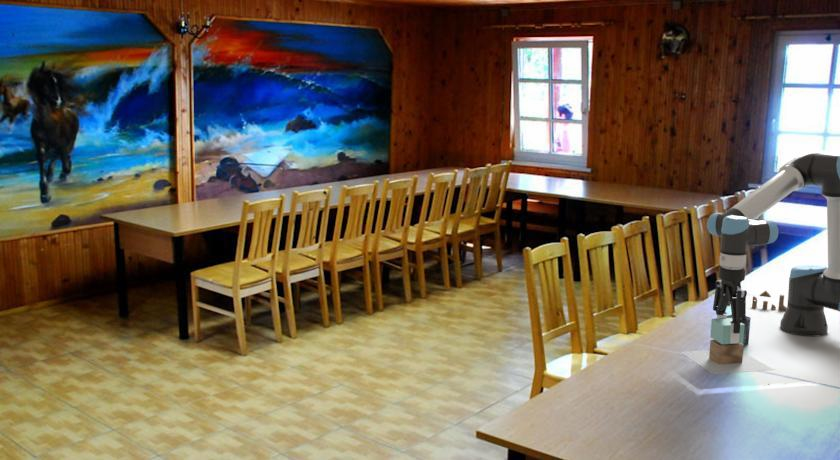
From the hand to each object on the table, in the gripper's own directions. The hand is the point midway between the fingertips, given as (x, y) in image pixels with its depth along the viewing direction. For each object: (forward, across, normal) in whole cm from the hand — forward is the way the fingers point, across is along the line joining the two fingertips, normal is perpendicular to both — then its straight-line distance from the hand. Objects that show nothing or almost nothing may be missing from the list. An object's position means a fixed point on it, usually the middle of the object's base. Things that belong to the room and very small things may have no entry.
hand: (727, 338), depth 251 cm
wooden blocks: (+9, -54, +50) cm, 74 cm away
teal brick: (0, 0, 0) cm, 0 cm away
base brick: (+7, 0, 0) cm, 7 cm away
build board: (+8, 0, 0) cm, 8 cm away
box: (+9, -14, +12) cm, 20 cm away
